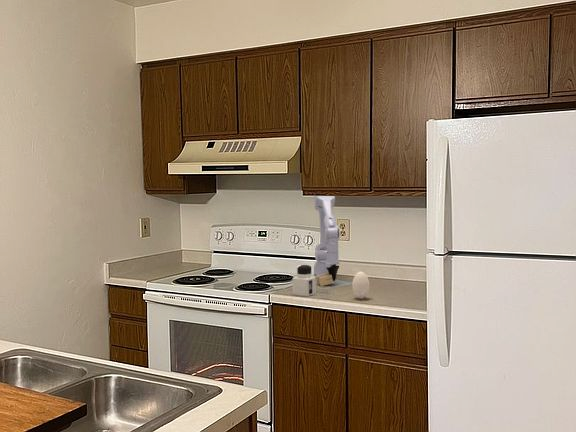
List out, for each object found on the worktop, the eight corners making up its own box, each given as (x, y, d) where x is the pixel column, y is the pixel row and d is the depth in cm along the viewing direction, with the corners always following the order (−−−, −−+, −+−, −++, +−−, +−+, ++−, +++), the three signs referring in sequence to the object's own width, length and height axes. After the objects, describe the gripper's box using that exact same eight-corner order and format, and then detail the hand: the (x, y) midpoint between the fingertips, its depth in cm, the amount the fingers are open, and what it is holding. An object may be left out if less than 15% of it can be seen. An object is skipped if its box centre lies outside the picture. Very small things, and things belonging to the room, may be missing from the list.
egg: (359, 296, 266) (359, 269, 265) (373, 298, 261) (373, 271, 260) (348, 298, 261) (348, 271, 260) (362, 301, 256) (361, 273, 255)
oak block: (317, 283, 291) (316, 275, 291) (329, 281, 292) (328, 273, 292) (321, 286, 285) (319, 278, 285) (333, 283, 286) (331, 275, 286)
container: (316, 293, 273) (316, 265, 272) (306, 296, 266) (306, 267, 265) (301, 291, 277) (301, 263, 276) (292, 294, 271) (292, 265, 270)
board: (304, 287, 288) (304, 285, 288) (335, 281, 302) (335, 279, 302) (324, 291, 277) (324, 289, 277) (356, 285, 291) (356, 283, 291)
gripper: (329, 250, 297) (330, 278, 297) (318, 253, 283) (319, 282, 284) (343, 251, 294) (344, 279, 294) (333, 254, 280) (333, 283, 281)
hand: (332, 280), depth 289 cm, fingers closed, pressing on oak block
